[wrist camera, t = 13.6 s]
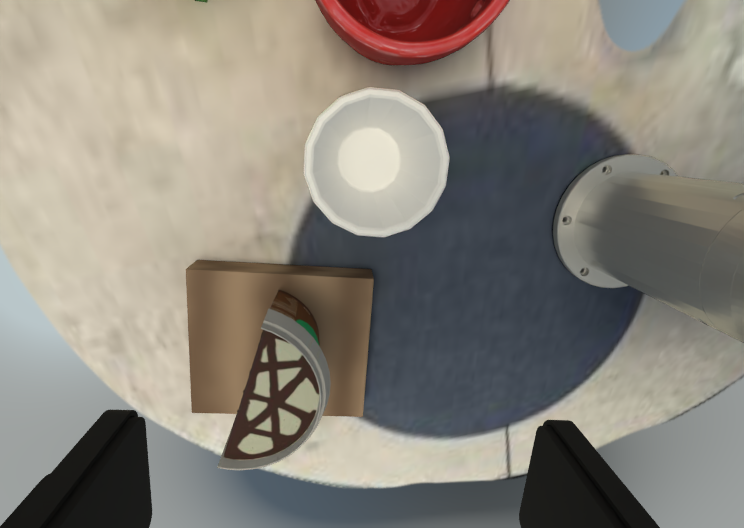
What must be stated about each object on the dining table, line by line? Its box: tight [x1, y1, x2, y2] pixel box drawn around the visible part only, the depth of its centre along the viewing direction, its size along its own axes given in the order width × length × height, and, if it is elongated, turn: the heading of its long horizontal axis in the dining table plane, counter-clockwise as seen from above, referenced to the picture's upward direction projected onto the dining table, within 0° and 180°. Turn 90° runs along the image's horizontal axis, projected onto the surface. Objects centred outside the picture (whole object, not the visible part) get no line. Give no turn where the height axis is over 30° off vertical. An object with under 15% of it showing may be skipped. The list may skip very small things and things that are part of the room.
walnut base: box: [186, 260, 374, 417], centre depth 40 cm, size 16×14×3 cm
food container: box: [217, 290, 331, 470], centre depth 34 cm, size 12×6×10 cm, turn 160°
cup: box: [304, 87, 450, 237], centre depth 33 cm, size 10×10×9 cm
